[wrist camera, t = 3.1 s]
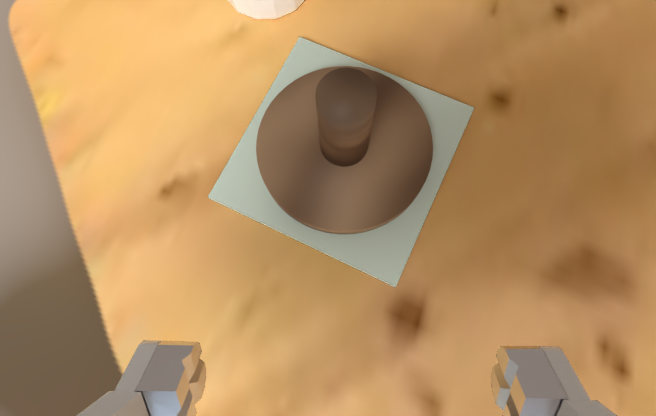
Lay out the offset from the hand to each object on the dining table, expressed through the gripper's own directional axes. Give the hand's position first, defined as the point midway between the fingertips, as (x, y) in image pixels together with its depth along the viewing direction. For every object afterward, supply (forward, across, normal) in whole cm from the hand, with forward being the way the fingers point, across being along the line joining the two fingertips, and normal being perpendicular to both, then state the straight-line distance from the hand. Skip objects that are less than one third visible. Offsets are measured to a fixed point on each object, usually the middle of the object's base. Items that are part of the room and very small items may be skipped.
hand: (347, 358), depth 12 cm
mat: (+18, 0, +2) cm, 18 cm away
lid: (+18, 0, +1) cm, 18 cm away
